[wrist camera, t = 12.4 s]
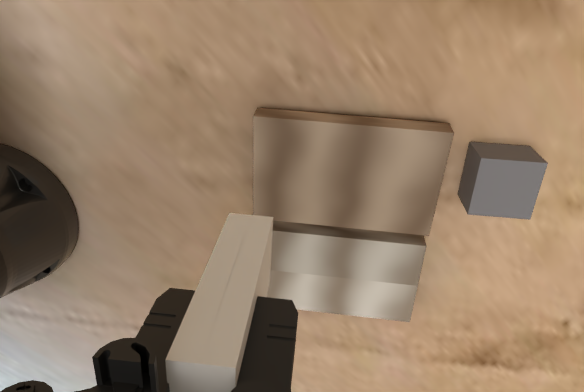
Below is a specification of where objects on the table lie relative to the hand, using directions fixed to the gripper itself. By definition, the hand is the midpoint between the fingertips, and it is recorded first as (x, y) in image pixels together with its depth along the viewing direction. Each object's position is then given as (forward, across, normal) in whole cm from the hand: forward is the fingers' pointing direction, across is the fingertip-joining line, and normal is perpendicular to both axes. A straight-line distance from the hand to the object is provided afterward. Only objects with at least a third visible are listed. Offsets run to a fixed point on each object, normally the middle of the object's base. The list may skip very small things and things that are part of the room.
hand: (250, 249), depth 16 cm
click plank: (+25, +5, -7) cm, 26 cm away
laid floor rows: (+25, +5, -18) cm, 31 cm away
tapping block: (+25, +17, -6) cm, 31 cm away
